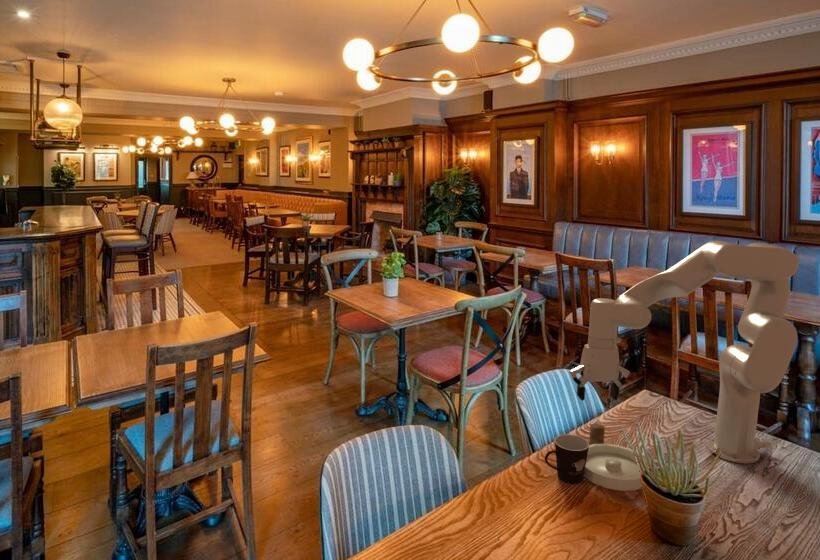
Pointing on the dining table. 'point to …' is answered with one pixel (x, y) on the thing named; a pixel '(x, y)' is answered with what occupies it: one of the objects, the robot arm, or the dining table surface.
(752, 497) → the dining table surface
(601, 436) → the cylinder
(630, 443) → the dining table surface
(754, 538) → the dining table surface
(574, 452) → the coffee mug
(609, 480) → the tray
